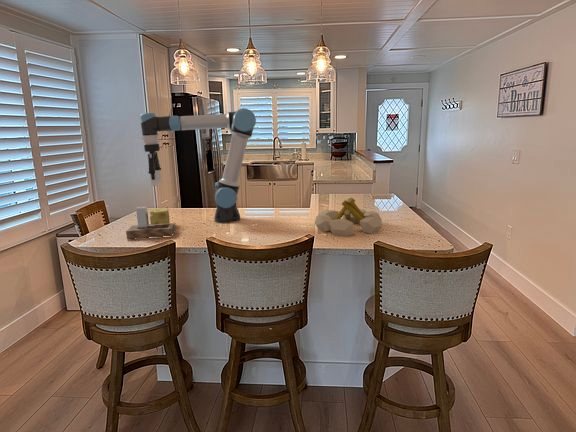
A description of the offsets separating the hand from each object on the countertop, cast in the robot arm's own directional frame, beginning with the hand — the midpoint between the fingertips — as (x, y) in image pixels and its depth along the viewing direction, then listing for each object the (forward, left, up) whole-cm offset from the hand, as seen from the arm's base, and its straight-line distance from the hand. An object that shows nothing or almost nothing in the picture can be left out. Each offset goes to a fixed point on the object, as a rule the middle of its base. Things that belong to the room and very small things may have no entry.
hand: (156, 184), depth 216 cm
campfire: (-100, +19, -26) cm, 105 cm away
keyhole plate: (+3, +11, -25) cm, 28 cm away
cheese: (+2, -7, -26) cm, 27 cm away
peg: (+6, +11, -24) cm, 27 cm away
